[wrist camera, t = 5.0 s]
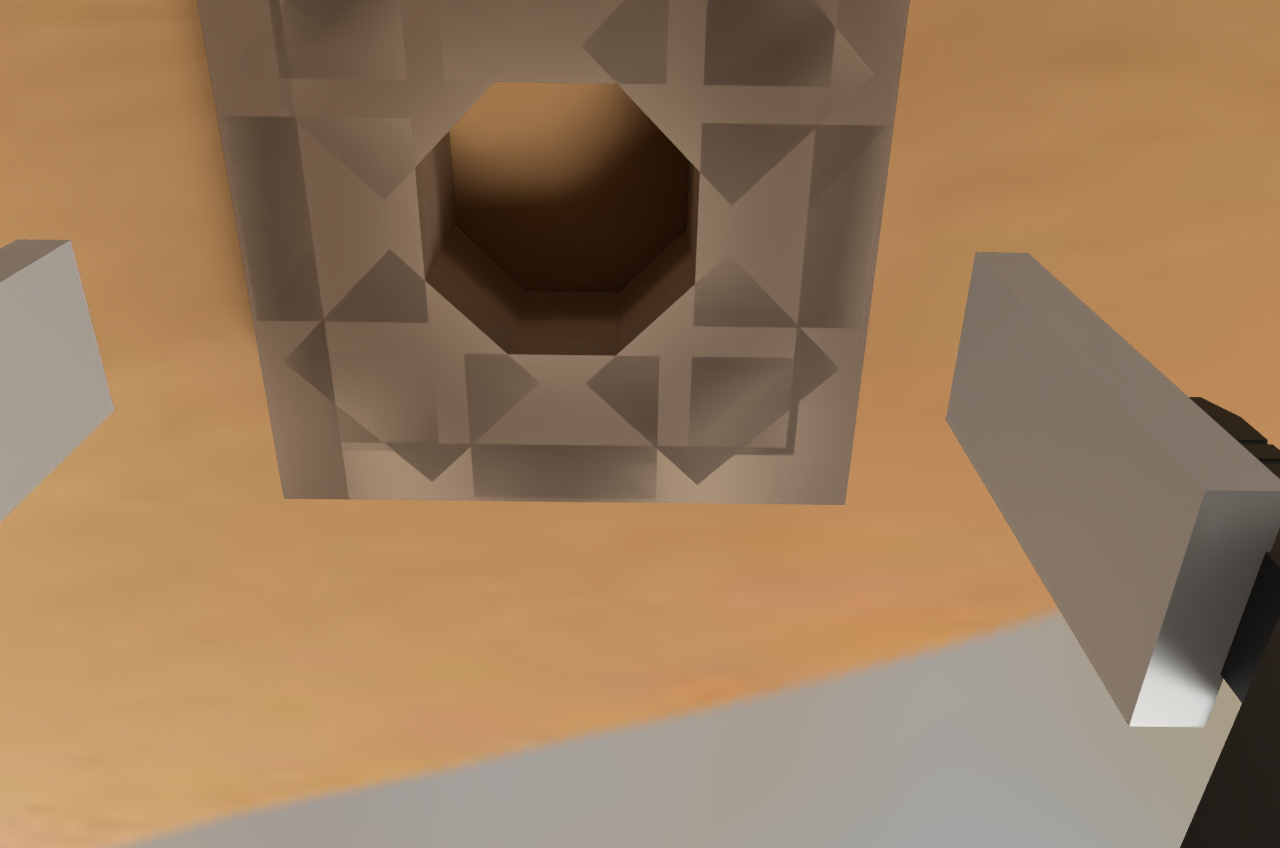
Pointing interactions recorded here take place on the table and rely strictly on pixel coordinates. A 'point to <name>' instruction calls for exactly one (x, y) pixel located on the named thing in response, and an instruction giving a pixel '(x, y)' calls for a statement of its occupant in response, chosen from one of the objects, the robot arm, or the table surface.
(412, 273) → the socket block
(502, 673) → the table surface
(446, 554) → the table surface
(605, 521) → the table surface
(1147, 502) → the robot arm
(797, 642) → the table surface
